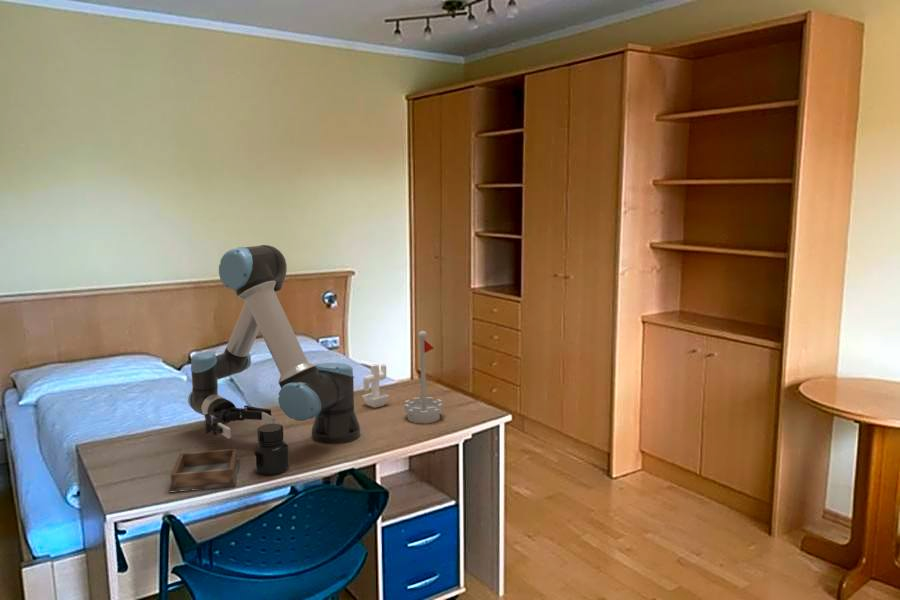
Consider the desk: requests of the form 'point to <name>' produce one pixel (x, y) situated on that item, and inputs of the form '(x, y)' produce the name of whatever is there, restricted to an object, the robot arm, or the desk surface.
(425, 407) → the flag stand
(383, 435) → the desk surface
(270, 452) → the ink bottle
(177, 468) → the tray
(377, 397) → the figurine
